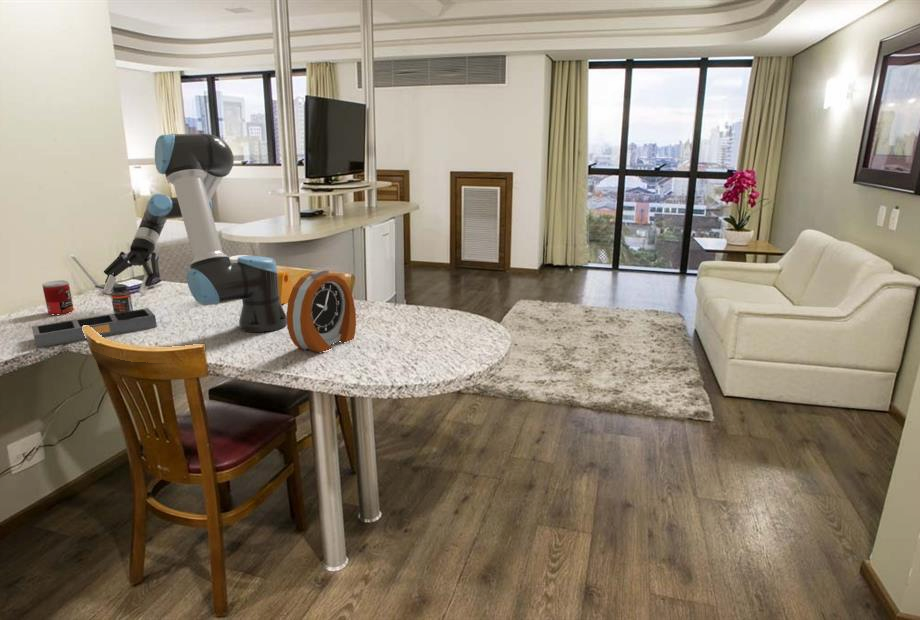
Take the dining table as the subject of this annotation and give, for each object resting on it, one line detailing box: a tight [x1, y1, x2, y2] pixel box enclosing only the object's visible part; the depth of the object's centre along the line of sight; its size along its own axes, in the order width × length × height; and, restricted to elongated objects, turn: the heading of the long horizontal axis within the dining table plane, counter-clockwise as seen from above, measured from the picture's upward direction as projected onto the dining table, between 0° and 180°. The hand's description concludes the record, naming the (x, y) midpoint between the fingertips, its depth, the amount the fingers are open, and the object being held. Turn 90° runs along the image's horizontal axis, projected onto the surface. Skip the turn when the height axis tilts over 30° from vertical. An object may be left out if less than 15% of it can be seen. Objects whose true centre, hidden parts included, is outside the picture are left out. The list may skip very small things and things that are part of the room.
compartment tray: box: [31, 307, 158, 349], centre depth 192 cm, size 11×33×4 cm, turn 127°
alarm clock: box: [286, 269, 357, 353], centre depth 178 cm, size 22×10×23 cm, turn 151°
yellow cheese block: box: [277, 270, 294, 305], centre depth 225 cm, size 11×7×12 cm, turn 169°
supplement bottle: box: [110, 284, 134, 314], centre depth 207 cm, size 6×6×11 cm
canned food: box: [41, 279, 75, 316], centre depth 213 cm, size 8×8×11 cm
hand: (123, 293), depth 209 cm, fingers open, 13 cm apart
